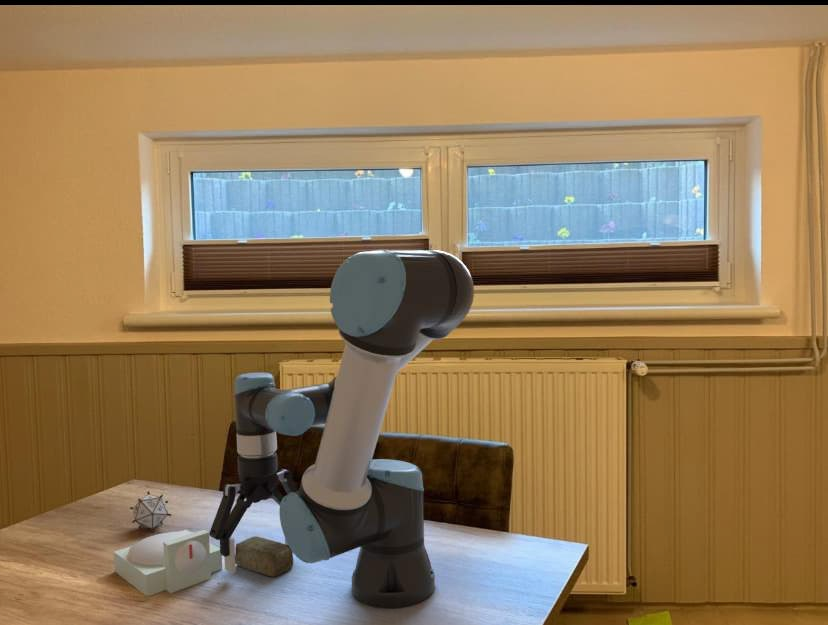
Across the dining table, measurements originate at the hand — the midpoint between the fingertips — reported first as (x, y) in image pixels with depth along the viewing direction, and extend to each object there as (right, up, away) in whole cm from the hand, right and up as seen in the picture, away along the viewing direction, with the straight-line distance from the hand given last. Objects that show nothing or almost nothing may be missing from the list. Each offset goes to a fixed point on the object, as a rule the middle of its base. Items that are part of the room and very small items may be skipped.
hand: (261, 559), depth 133 cm
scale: (-17, -2, -1) cm, 18 cm away
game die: (-30, -1, +22) cm, 38 cm away
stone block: (0, -2, +1) cm, 2 cm away
